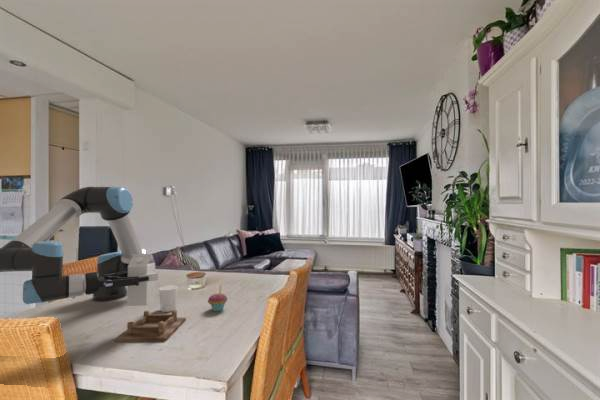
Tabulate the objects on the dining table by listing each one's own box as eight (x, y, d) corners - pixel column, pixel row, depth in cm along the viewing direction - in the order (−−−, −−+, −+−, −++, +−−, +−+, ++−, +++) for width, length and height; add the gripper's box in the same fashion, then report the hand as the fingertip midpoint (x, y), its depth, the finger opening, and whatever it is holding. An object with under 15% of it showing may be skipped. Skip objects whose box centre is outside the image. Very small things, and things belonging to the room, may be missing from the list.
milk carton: (136, 300, 114) (137, 252, 114) (154, 299, 114) (155, 252, 115) (127, 306, 107) (127, 255, 107) (146, 305, 107) (146, 255, 108)
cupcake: (230, 307, 133) (230, 281, 133) (219, 314, 125) (220, 286, 125) (215, 305, 136) (215, 280, 136) (203, 311, 128) (203, 285, 128)
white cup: (170, 313, 126) (170, 290, 127) (155, 311, 128) (155, 289, 128) (181, 306, 134) (181, 285, 134) (166, 305, 136) (166, 284, 136)
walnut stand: (142, 320, 118) (142, 308, 118) (185, 320, 118) (185, 307, 118) (115, 341, 100) (115, 326, 100) (166, 341, 100) (166, 326, 100)
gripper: (82, 288, 107) (147, 278, 122) (86, 303, 90) (161, 289, 105) (82, 268, 107) (147, 260, 122) (87, 279, 91) (161, 269, 105)
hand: (154, 274), depth 113 cm, fingers closed on milk carton, 10 cm apart
